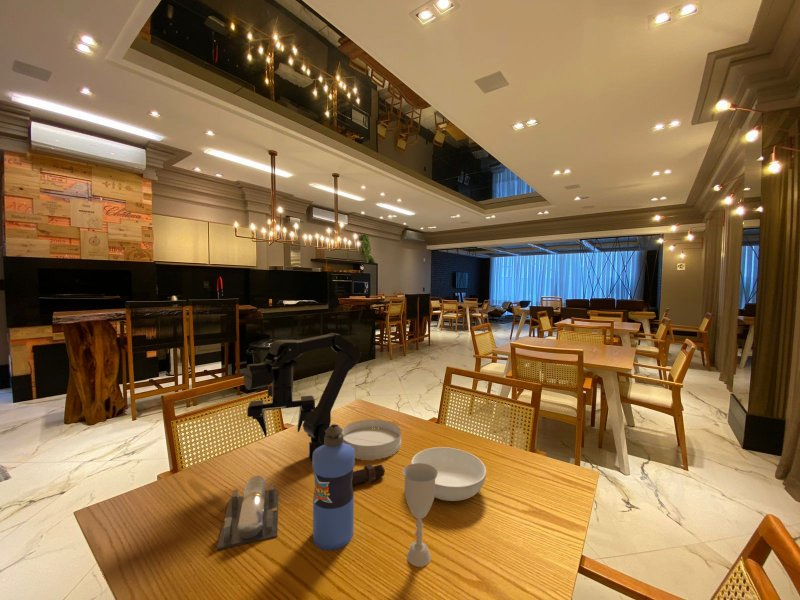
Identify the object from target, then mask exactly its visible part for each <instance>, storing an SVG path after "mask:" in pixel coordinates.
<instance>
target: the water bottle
mask: <svg viewBox="0 0 800 600" xmlns="http://www.w3.org/2000/svg"><path fill="white" fill-rule="evenodd" d="M342 429H343V428H341V427H340V426H339V425H338V424H336V423H333V424H330V426H329V428H328V429H327V430H326V431H325V433H326V435H325V436H324V444H325V445H322V446H320V447H318V448H317V449H315V450H314V452H313V455H312V462H311V463H312V467H311V468H312V473H313V477H314V478H313V480H314V493H313V499H312V542H313V543H314V545H315V546H316V548H318V549H320V550H324V551H336V550H339V549H342V548H343V547H346V546H347V545H348V544H350V542H351V541H352V539H353V537H354V531H355V530H354V524H355V523H354V520H355V519H354V516H355V515H354V512H355V511H354V509H355V507H354V505H355V504H354V503H355V502H354V501H355V500H354V499H355V497H354V489H353V485H352V477H353V472H354V468H355V464H356V462H355V460H356V459H355V450H354V448H353V447H352V446H351V445H348V444H345V443H343V434H342V431H343V430H342Z"/></svg>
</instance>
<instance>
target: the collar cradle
mask: <svg viewBox="0 0 800 600" xmlns="http://www.w3.org/2000/svg"><path fill="white" fill-rule="evenodd" d="M243 496H244V495H242V496H239V488H237V489H233V490H232V494H231V498H229V499H228V503H227V507H226V511H225V515H224V519H223V524H222V527H221V530H220V534H219V539H218V543H217V546H216V551H220V550H224V549H225V550H226V549H229V548H233V547H238V546H242V545H247V544H251V543H255V542H259V541H264V540H267V539H271V538H276V537H278V529H279V528H278V526H279V524H278V523H279V522H278V521H279V489H275V482H271V483H269V484H268V491H265V502H264V510H263V521H262V528H261V530H260V532H259V533H258V534H257V535H256V536H254V537H252V538H243V537H241V536H240V535H239V534H238V531H237V528H238V522H239V517H240V512H241V506H242V501H243Z"/></svg>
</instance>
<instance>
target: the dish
mask: <svg viewBox="0 0 800 600" xmlns="http://www.w3.org/2000/svg"><path fill="white" fill-rule="evenodd" d="M372 428H373V429H372ZM374 428H375V429H374ZM378 428H379V429H378ZM341 429H342V430H343V431H342V434H343V443H345V444H348V445H351V446H352V447H353V448H354V450H355V458H357V459H356V460H358V459H363V460H362V461H372V460H371V459H378V460H382V459H381V458H384V459H386V458H385V457H387V458H389V457H388V456H390V455H392V454H393V455H395V454H397V453H398V452H399V451H398V450H399V449H400V450H401V448H400V447H402V430H401V428H400V427H399V426H398V425H397V424H396V423H394V422H391V421H388V420H383V419H375V418H374V419H371V418H370V419H363V420H357V421H353V422H351V423H348V424H346V425H345V426H344V427H342V428H341ZM397 451H398V452H397ZM396 452H397V453H396ZM394 453H395V454H394ZM393 455H392V456H393ZM390 457H391V456H390Z"/></svg>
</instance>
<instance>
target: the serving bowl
mask: <svg viewBox="0 0 800 600" xmlns="http://www.w3.org/2000/svg"><path fill="white" fill-rule="evenodd" d="M415 463H422V464H427V465H430V466H432V467H434V468H435V469H436V470H437V472H438V474H437V477H436V479H435V497H434V499H435V498H436V499H439V500H441V501H448V502H458V501H464V500H467V499H469V498H473V497H474V496H475V495H476V494H478V493H479V492H480V491H481V489H482V488H483V487H484V484H485V481H486V478H487V477H486V476H487V467H486V465H485V464H484V463H483V461H482V460H481V459H480V458H478V456H476V455H474V454H472V453H470V452H468V451H466V450H462V449H458V448H455V447H447V446H445V447H444V446H437V447H431V448H425V449H422V450H421V451H419V452H417V453H416V454H415V455H414V456H413V457H412V458H411V461H410V464H415Z"/></svg>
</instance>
